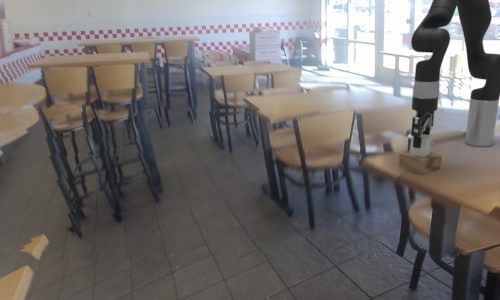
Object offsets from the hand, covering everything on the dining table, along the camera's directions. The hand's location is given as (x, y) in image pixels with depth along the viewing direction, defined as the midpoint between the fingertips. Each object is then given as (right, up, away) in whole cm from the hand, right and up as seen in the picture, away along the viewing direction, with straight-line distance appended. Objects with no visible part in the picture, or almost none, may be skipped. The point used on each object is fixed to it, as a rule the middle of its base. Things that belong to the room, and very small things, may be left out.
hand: (421, 144), depth 132 cm
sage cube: (0, -3, +1) cm, 3 cm away
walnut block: (+1, -8, +3) cm, 8 cm away
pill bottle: (+4, -4, +14) cm, 15 cm away
